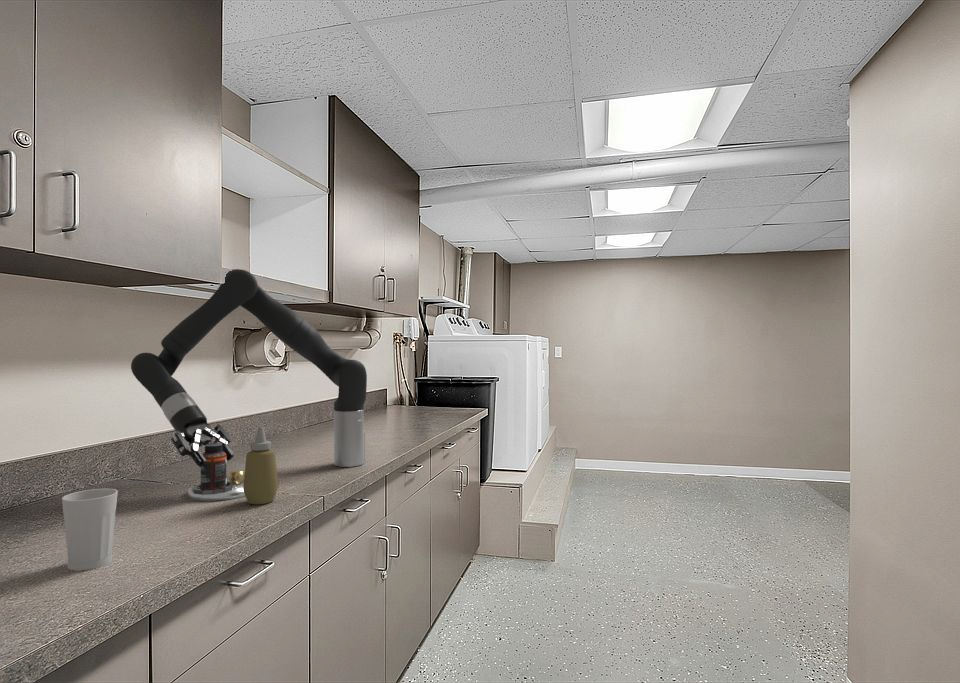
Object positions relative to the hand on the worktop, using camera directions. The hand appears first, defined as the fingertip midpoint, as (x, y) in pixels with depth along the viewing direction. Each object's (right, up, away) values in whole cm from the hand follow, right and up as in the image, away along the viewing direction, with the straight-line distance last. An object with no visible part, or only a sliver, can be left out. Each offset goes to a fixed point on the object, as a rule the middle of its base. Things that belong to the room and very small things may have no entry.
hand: (217, 461), depth 140 cm
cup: (-2, -9, -43) cm, 44 cm away
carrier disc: (0, -9, +3) cm, 9 cm away
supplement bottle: (-1, -7, +1) cm, 8 cm away
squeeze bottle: (+13, -9, -5) cm, 17 cm away
